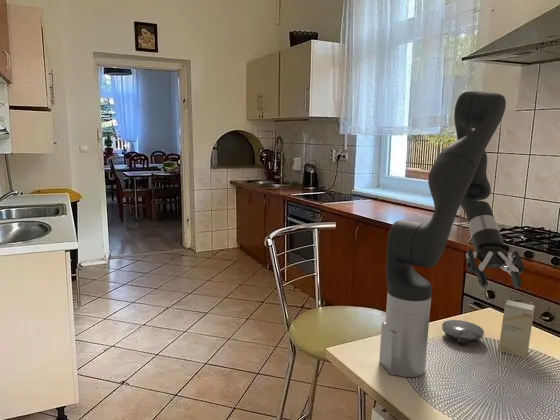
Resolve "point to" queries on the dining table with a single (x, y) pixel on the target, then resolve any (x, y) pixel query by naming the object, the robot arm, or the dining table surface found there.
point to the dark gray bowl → (462, 331)
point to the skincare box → (516, 328)
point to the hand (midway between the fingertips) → (501, 286)
